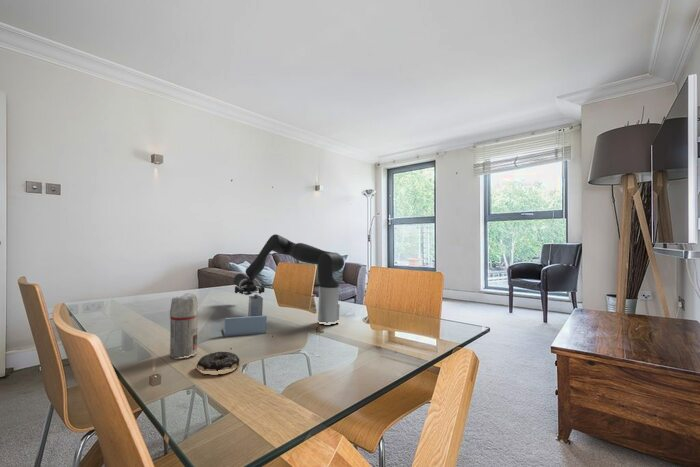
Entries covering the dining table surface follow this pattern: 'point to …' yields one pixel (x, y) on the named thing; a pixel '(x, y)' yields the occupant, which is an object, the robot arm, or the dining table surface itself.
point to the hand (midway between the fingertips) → (251, 291)
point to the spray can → (183, 325)
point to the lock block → (255, 305)
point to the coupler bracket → (245, 325)
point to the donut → (218, 361)
